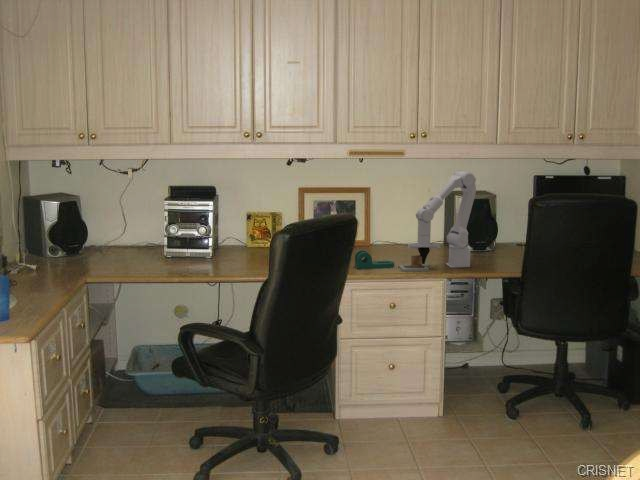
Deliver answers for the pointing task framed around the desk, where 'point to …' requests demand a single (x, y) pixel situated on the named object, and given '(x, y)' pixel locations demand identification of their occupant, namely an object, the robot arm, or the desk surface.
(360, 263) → the bracket
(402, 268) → the slot board
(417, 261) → the walnut block
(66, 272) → the desk surface
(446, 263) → the robot arm
